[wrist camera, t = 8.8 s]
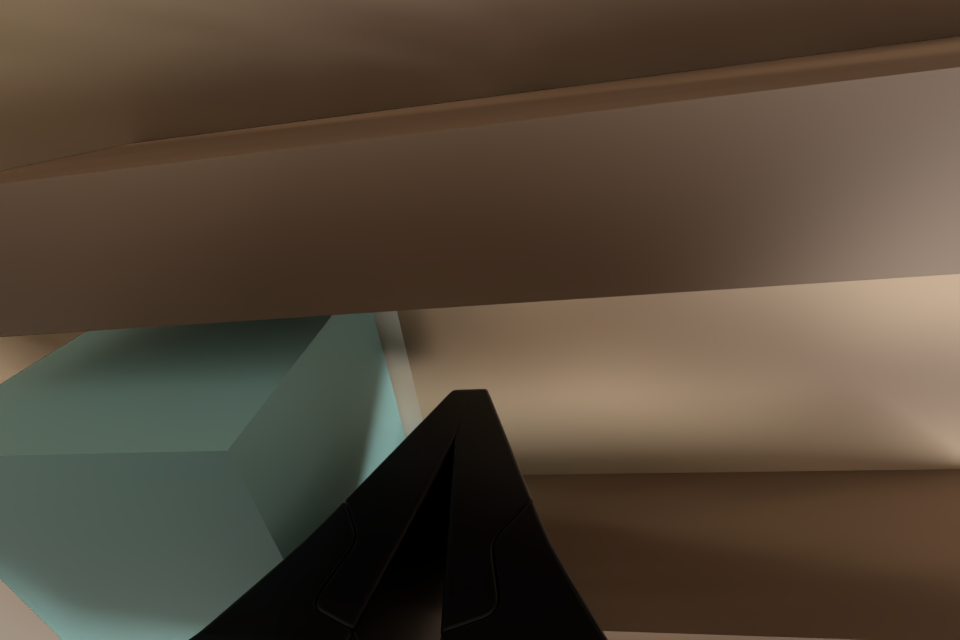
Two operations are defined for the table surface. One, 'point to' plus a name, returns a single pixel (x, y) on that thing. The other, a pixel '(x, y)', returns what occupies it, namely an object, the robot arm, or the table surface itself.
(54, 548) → the teal block
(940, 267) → the chute
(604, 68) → the table surface
